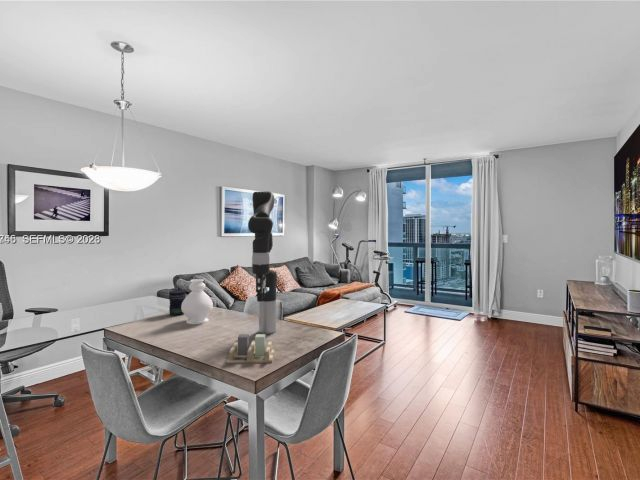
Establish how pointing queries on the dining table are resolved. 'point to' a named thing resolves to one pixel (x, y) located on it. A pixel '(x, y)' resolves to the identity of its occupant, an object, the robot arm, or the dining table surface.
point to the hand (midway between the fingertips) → (261, 299)
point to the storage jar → (176, 302)
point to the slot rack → (251, 354)
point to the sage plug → (260, 344)
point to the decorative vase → (197, 303)
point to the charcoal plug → (243, 344)
